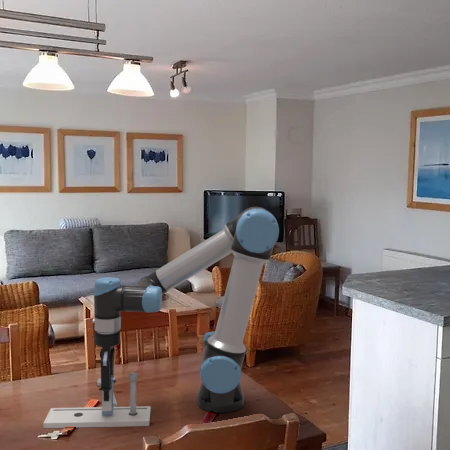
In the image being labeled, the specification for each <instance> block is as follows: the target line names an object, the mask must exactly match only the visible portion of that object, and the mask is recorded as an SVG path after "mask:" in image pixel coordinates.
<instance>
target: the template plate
mask: <svg viewBox="0 0 450 450" xmlns="http://www.w3.org/2000/svg"><path fill="white" fill-rule="evenodd" d="M138 378H139V376H138V373H137V372H133V371H132V372H130V373H129V375H128V381H129V393H130V394H129V406H117V407H113V414H112V415H102V406H98V407H97V406H96V407H95V406H94V407H90V406H89V407H87V406H86V407H51V408H50V410H49V411H48V413H47V416H46V418H45V419H44V421H43V423H42V424H43V425H42V426H43V427H42V428H43V429H63V428H64V429H66V428H65V427H68V426H69V427H70V426H74V427H76V428H115V427H116V428H117V427H118V428H119V427H150V422H151V412H152V410H151V409H152V408H151V407H152V406H151V405H149V406H146V405H145V406H141V405H140V406H137V381H138Z"/></svg>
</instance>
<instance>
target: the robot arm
mask: <svg viewBox="0 0 450 450" xmlns="http://www.w3.org/2000/svg"><path fill="white" fill-rule="evenodd" d="M279 234H280V227H279V224H278V221H277V219H276V217H275V216H274V214H272V212H270V211H269V210H267V209H266V208H264V207H262V206H251V207H248V208H246V209H244V210H243V211H242V212H241V213H239V214H238V215H237V216H235V217H234V218H233V219H231V220H230V221H228V222H226V223H225V224H224V227H223V229H221V230H220V231H219V232H216V233H215V234H214V235H212V236H210V237H208V238H207V239H205V240H204V241H202V242H200V243H198V244H197V245H195V246H194V247H193V248H190V249H189V250H188V251H186V252H184V253H182V254H181V255H179V256H177V257H176V258H174V259H173V260H171V261H169V262H167V263H166V264H164V265H163V266H161V267H159V268H158V269H156V270H155V271H154V272H152V273H150V274H148V275H144V276H143V277H141V278H140V279H139V281H138V282H137V284H136V285H124V284H122V281H121V280H120V278H118V277H111V276H110V277H109V276H108V277H107V276H106V277H100V278H98V279H96V280H95V281H94V289H93V303H94V305H93V310H94V319H92V320H91V321H92V323H93V324H94V333H93V336H94V337H93V340H94V345H95V346H97V347H101V348H100V351H99V358H100V360H99V364H100V378H101V387H99V388H98V390H99V391H101V407H102V411H111V410H112V389H111V375H113V378H114V377H115V375H114V374H115V373H114V371H115V370H114V367H115V366H114V365H115V364H114V363H115V352H116V348H115V346H119V345H120V344H121V331H120V330H121V326H122V324H121V323H122V316H121V313H122V312H131V313H132V312H133V313H157V312H160V311H161V309H162V304H163V295H164V294H166V293H168V292H169V291H170V290H172V289H173V288H176V287H178V286H179V285H181V284H182V283H184V282H185V281H187V280H189V279H190V278H192V277H193V276H196V275H197V274H199V273H201V272H202V271H204V270H206V269H207V268H209V267H211V266H213V265H214V264H215V263H217V262H219V261H220V260H222V259H224V258H225V257H227V256H229V255H231V254H232V255H233V260H232V265H231V269H230V272H229V277H228V281H227V285H226V288H225V293H224V296H223V299H222V303H221V308H220V310H219V315H218V318H217V319H218V320H217V323H216V327H215V331H207V332H205V333H204V335H203V340H202V343H203V345H202V346H203V347H202V357H201V358H202V359H201V365H200V368H199V376H200V380H201V383H200V386H199V388H198V391H197V395H196V404H197V406H198V407H199V408H200V409H203V410H205V411H207V412H211V411H213V412H212V413H221V414H222V413H231V412H235V411H237V410H240V409H241V408H243V406H244V405H245V395H244V391H243V389H242V385H241V379H242V368H243V363H244V359H245V355H246V351H247V347H246V345H245V344H244V339H245V335H246V333H247V332H246V330H247V328H248V324H249V320H250V315H251V312H252V310H253V305H254V302H255V301H254V300H255V296H256V293H257V289H258V286H259V281H260V278H261V274H262V271H263V267H264V265H265V264H266V263H267V262H269V261H271V257H272V253H273V249H274V246H275V244H277V241H278V239H279ZM113 383H115V384H116V379H115V380H113Z"/></svg>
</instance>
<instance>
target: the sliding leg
mask: <svg viewBox="0 0 450 450" xmlns="http://www.w3.org/2000/svg"><path fill="white" fill-rule="evenodd" d="M111 389H112V410H111V411H102V415H112V414H113V393H114V385H113V375H111Z"/></svg>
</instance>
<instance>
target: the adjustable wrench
mask: <svg viewBox="0 0 450 450" xmlns="http://www.w3.org/2000/svg"><path fill="white" fill-rule="evenodd" d="M113 380H115V381H116V376H114V378H113ZM115 384H116V382H115V383H113V386H114V385H115ZM96 387H99V388H101V377H99V378H97V381H96ZM113 407H118V403H117V400H116V396H115V393H114V392H113Z"/></svg>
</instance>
